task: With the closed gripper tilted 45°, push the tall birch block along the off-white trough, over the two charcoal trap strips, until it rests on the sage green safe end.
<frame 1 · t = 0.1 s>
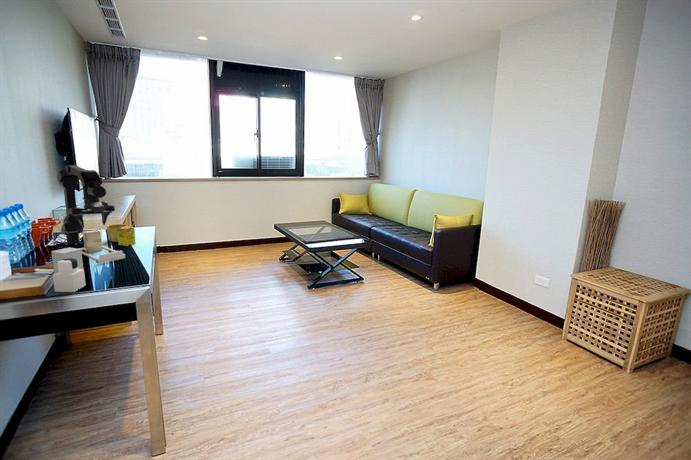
hand: (93, 226, 178), 15 cm above the table, tool pointing down, fingers open, 9 cm apart
birch block: (92, 241, 182), point 6 cm above the table, slide at 0.0 cm
supplement box 2: (70, 279, 148), on the table
plant pot: (118, 242, 205), on the table
white stepped block: (70, 289, 138), on the table
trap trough: (100, 255, 179), on the table
supplement box: (127, 246, 198), on the table
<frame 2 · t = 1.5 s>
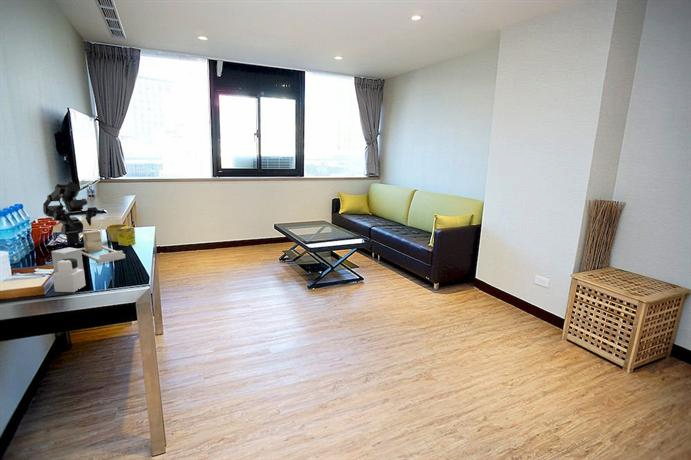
hand: (82, 226, 186), 12 cm above the table, tool tilted 45°, fingers open, 7 cm apart
nothing on the table moved.
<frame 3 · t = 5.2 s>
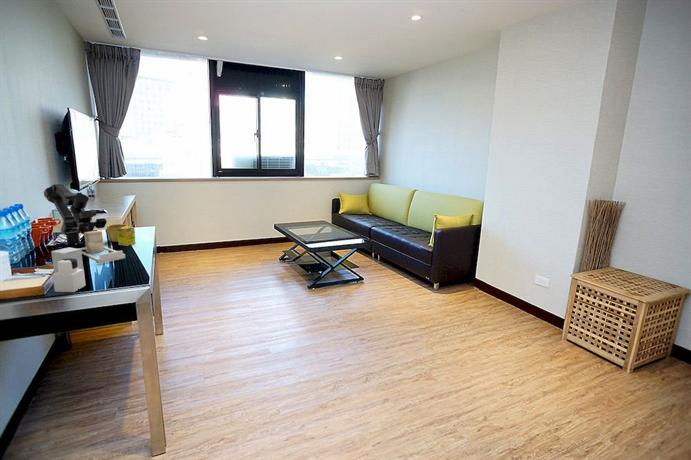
hand: (91, 238, 182), 8 cm above the table, tool tilted 45°, fingers closed, pressing on birch block
birch block: (94, 241, 181), point 6 cm above the table, slide at 1.7 cm, touching gripper
everything else where it was.
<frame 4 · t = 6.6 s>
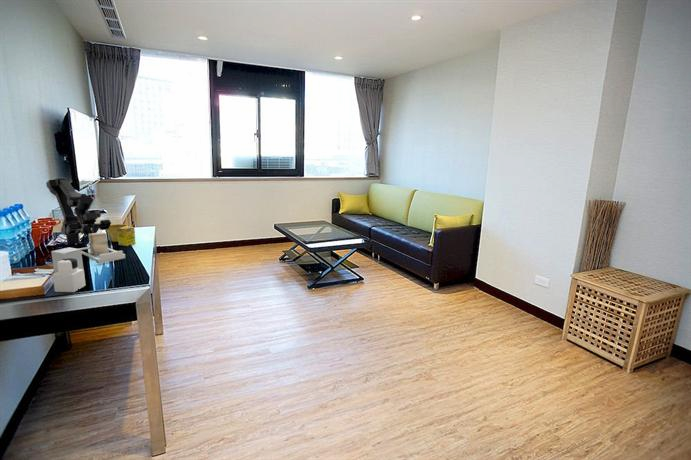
hand: (95, 239, 180), 8 cm above the table, tool tilted 45°, fingers closed, pressing on birch block
birch block: (98, 243, 178), point 6 cm above the table, slide at 6.5 cm, touching gripper
everything else where it was.
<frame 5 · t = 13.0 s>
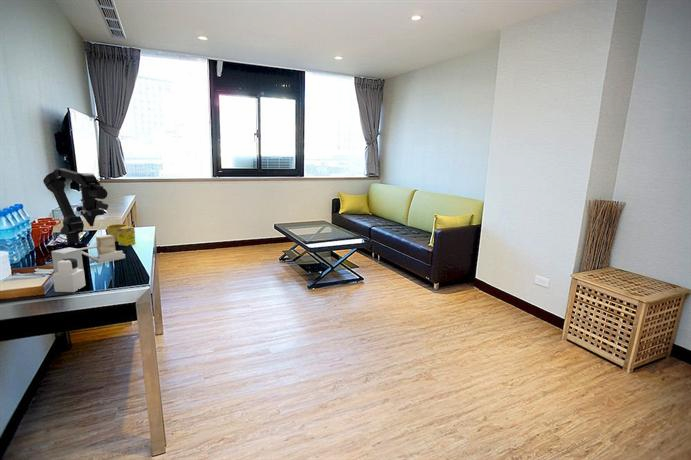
hand: (91, 226, 189), 12 cm above the table, tool pointing down, fingers closed
birch block: (106, 246, 174), point 6 cm above the table, slide at 14.7 cm
everything else where it was.
at the end: birch block slide at 14.7 cm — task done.
